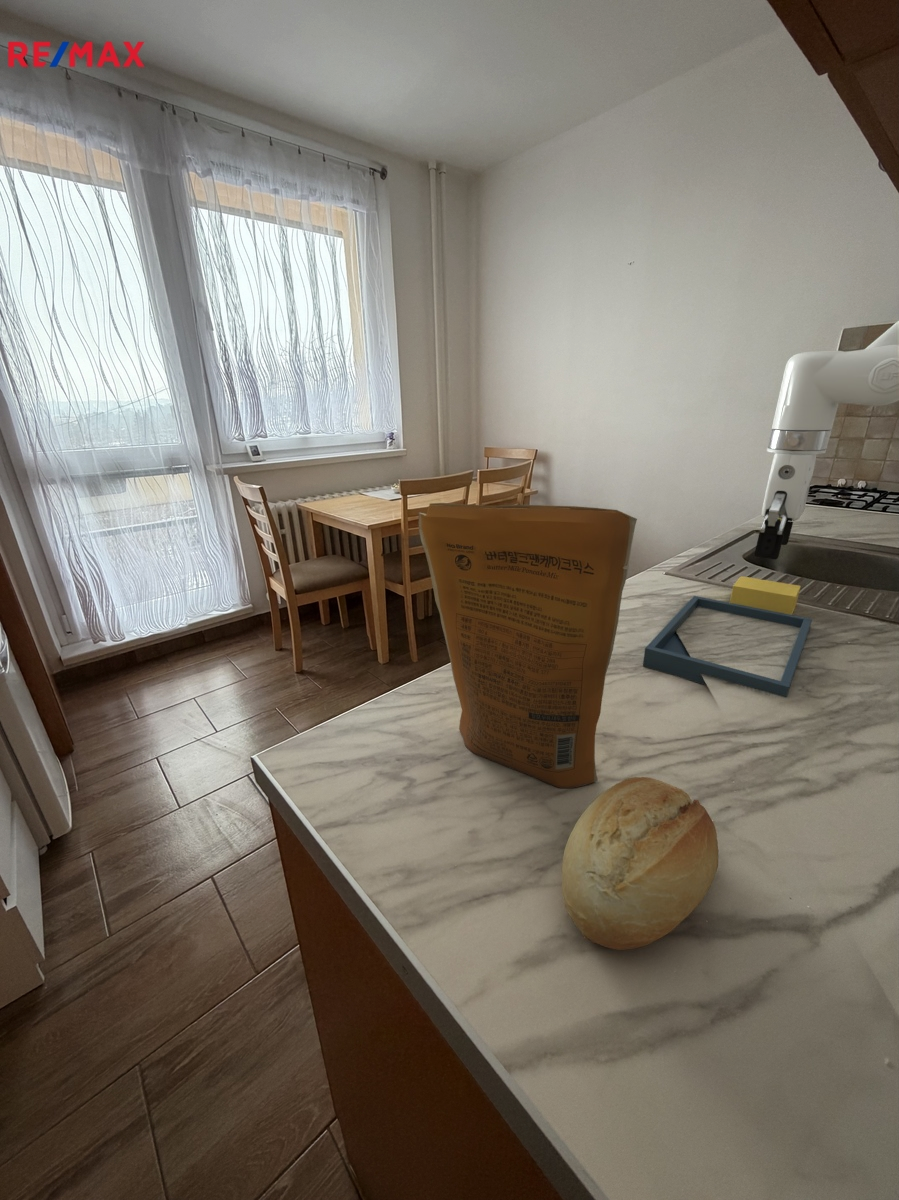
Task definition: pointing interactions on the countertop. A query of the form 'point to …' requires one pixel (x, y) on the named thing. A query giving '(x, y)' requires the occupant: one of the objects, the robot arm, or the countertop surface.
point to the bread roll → (638, 863)
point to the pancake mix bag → (529, 626)
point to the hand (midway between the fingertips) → (771, 550)
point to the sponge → (765, 594)
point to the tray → (675, 660)
